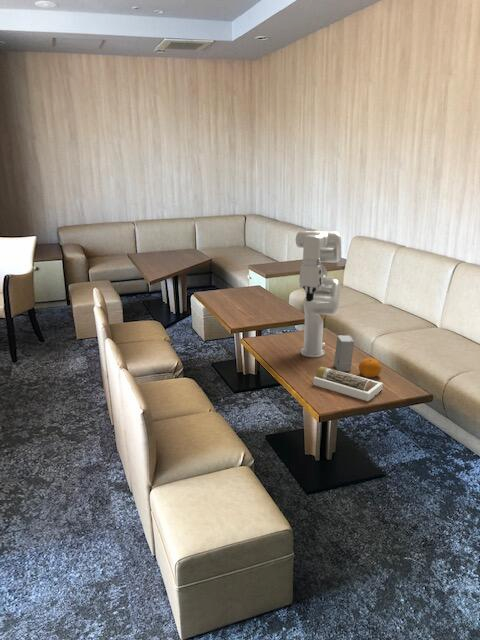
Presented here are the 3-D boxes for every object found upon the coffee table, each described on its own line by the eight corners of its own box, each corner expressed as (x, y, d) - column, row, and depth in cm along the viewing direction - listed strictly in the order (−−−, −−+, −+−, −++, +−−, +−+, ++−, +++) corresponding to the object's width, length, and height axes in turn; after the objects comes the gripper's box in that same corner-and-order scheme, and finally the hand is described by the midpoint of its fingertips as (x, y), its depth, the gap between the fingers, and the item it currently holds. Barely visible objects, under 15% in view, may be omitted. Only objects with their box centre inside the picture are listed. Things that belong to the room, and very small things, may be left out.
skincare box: (333, 365, 262) (335, 335, 257) (347, 364, 263) (349, 334, 258) (337, 371, 254) (339, 340, 249) (352, 371, 255) (354, 340, 250)
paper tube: (324, 372, 247) (373, 386, 232) (317, 383, 244) (366, 398, 229) (320, 363, 243) (370, 377, 228) (313, 374, 240) (363, 389, 225)
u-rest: (328, 375, 250) (328, 368, 249) (382, 390, 234) (382, 383, 233) (313, 384, 240) (313, 377, 239) (368, 401, 224) (369, 393, 223)
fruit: (354, 376, 249) (355, 360, 247) (363, 369, 257) (365, 354, 255) (375, 381, 243) (376, 365, 241) (384, 374, 251) (385, 358, 249)
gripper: (329, 262, 239) (327, 301, 245) (301, 258, 248) (299, 296, 254) (321, 265, 234) (319, 305, 240) (292, 261, 242) (291, 299, 248)
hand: (309, 300), depth 247 cm, fingers closed
